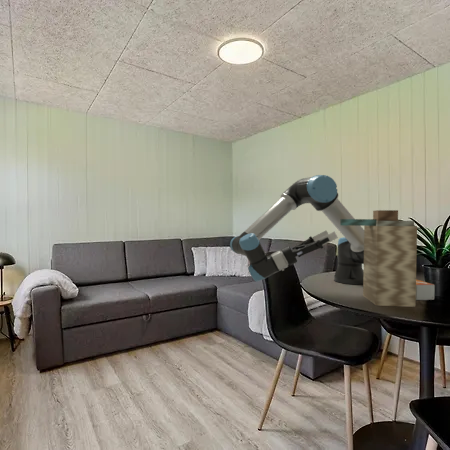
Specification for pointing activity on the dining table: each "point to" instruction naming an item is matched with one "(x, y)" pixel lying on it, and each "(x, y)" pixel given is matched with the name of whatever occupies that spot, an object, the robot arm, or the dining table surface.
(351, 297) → the dining table surface
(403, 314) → the dining table surface
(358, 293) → the dining table surface
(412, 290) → the wooden board
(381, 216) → the teal and brown block
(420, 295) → the small box
